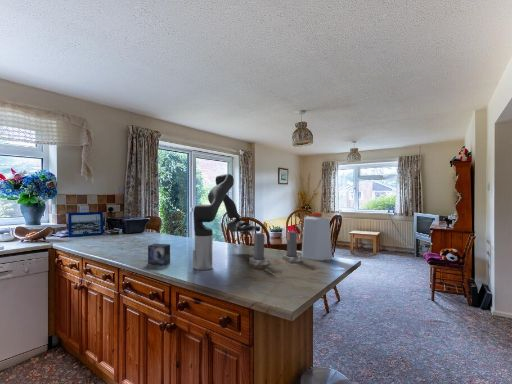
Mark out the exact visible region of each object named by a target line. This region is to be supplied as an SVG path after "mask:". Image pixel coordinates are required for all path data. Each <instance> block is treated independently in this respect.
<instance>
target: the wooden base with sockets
mask: <svg viewBox="0 0 512 384" xmlns="http://www.w3.org/2000/svg"><path fill="white" fill-rule="evenodd" d="M302 258H303V257H302V255H298V254H297V257H288V256H287V254H282V257H281V258H279V259H268V258H267V257H265V256H264V260H255V259H254V256H252V257H249V261H248V262H249V263H248V265H249V266H250V267H252V268H253V269H266V266H269V265H270V266H271V265H279V264H281V265H282V264H288V263H289V264H290V263H299V262H303V260H302Z"/></svg>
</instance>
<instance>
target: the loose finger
mask: <svg viewBox="0 0 512 384" xmlns="http://www.w3.org/2000/svg"><path fill="white" fill-rule="evenodd" d="M253 235H254V236H253V237H254V238H253V257H254V259H255V260H264V257H265V242H266V241H265V239H266V238H265V237H266V236H265V233H262V232H255V233H254V234H253Z"/></svg>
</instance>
